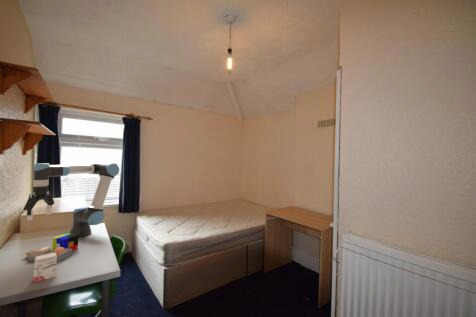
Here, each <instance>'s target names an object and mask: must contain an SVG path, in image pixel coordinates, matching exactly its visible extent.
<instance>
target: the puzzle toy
mask: <svg viewBox="0 0 476 317" xmlns="http://www.w3.org/2000/svg"><path fill="white" fill-rule="evenodd" d="M78 236H79V235H76V234H70V232H68V233H64V234H60V235H57V236H55V237H52V246H51V251H54V250H55V249H57V248H59V247H63V248H64V249H65V250H69V249H72V252H73V251H75V250H78V249H79V248H78V247H79V246H78V245H79V237H78Z"/></svg>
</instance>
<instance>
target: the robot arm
mask: <svg viewBox="0 0 476 317" xmlns="http://www.w3.org/2000/svg"><path fill="white" fill-rule="evenodd" d="M119 173H120V167H119V165H118V164H117V163H115V162H103V161H102V162H95V163H94V162H93V163H92V162H90V163H88V164H50V163H47V162H46V163H45V162H44V163H43V162H42V163H39V162H36V163H34V166H33V184H32V185H33V187H32V192H33V194H29V195H28V199H27V201H26V203H25V205H24V207H23V210H24V211H26V218H27V219H26V220H27V221H33V218H34V210H33V208H34V207H35V206H36V205H37V203H38V202H40V201H42V200H43V201H44V202H45V203H46V205H45V206H46V207H45V216H46V215H52V206H53V205H54V204H55V200H54V197H53V196H52V191H49V185H50V184H49V182H50V181H49V180H50V177H66V176H67V177H68V176H69V175H77V174H80V175H81V174H89V175H98V176H99V181H98V184H97V185H96V186H97V187H96V189H95V192H94V196H93V198H92V202H91V204H90V206H83V207H78V208H75V209H73V213H72V214H73V215H72V216H73V217H72V226H71V229H70V231H69V233H70V234H76V235H79V236H78V238H82V237H83V238H84V237H87V236H89V235H91V234H92V229H91V226H98V225H100V223H102V222H103V221H104V219H105V216H106V215H105V212H104V207H103V206H104V204H105V200H106V199H107V194H108V191H109V189H110V185H111V182H112V181H113V180H114V179H115V176H118V174H119Z"/></svg>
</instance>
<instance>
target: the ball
mask: <svg viewBox="0 0 476 317" xmlns="http://www.w3.org/2000/svg"><path fill="white" fill-rule="evenodd" d="M63 252H65V249H64V248H63V247H59V248H57V249H55V250H54V252H53V253H56V254H57V256H58V255H59V254H61V253H63Z"/></svg>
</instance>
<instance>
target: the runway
mask: <svg viewBox="0 0 476 317" xmlns="http://www.w3.org/2000/svg"><path fill="white" fill-rule="evenodd" d="M34 251H35V252H32V253H31V254H30V255H29V257H28V258H27V261H34V262H35V257H37V256H41V255H46V254H50V253H53V252H54V251H52V247H49V246H44V247H42V248H40V249H38V250H34ZM72 255H73V251H72V249H69V250H65V252H63V253H61V254H59V255H58V256H57V263H58V262H59V263H60V262H61V261H62V260H64V259H65V260H66V258H68V257H70V256H72Z"/></svg>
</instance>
